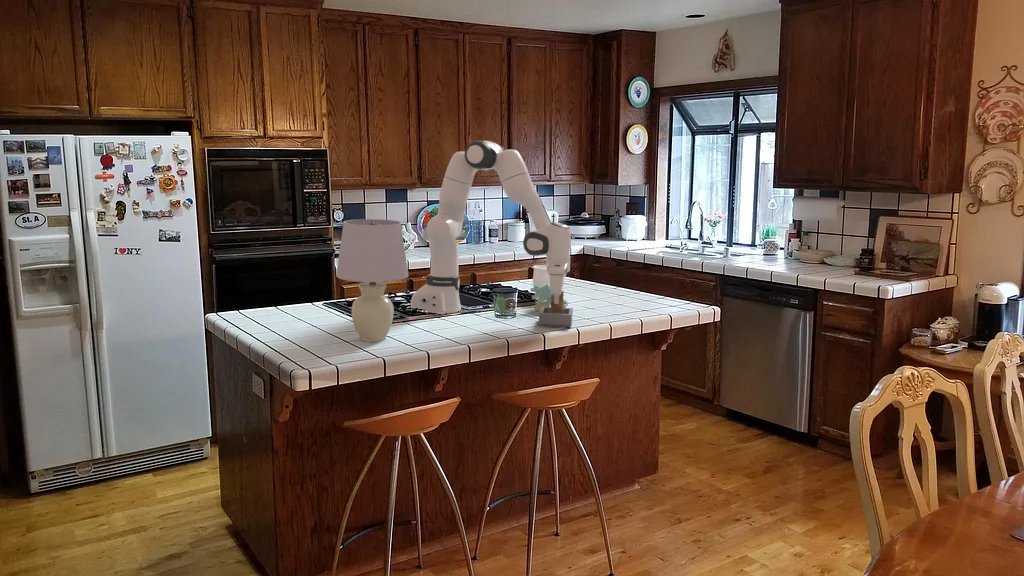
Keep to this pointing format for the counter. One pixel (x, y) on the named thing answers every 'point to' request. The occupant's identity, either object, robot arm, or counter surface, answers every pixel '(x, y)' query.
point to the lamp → (372, 271)
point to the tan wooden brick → (559, 306)
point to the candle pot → (555, 317)
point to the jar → (540, 277)
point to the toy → (544, 296)
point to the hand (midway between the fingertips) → (556, 302)
